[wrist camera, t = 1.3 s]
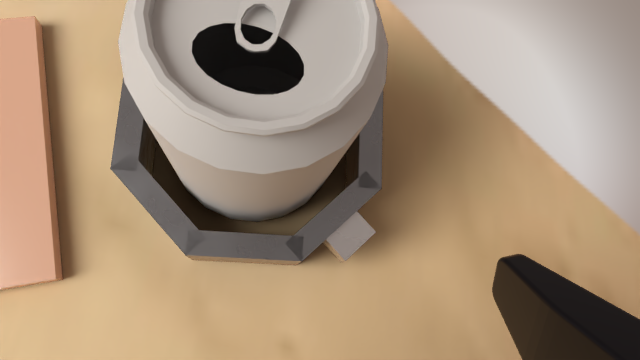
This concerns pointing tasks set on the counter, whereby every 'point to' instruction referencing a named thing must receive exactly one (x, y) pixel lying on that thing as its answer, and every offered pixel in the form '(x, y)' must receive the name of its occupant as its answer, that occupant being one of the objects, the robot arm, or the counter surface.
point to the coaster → (26, 161)
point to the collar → (326, 227)
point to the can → (254, 93)
